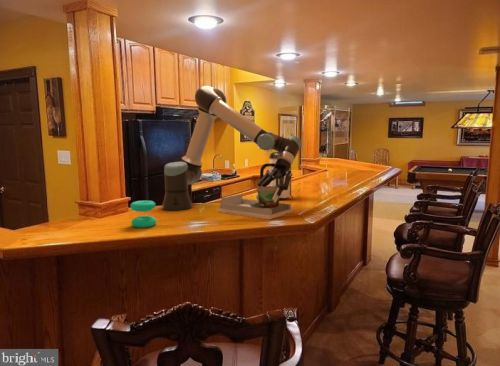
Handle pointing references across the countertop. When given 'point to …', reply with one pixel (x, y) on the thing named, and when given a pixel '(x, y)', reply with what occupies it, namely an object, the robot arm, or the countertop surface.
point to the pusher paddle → (255, 205)
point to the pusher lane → (251, 208)
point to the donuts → (143, 220)
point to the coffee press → (285, 193)
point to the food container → (267, 196)
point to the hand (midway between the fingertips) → (265, 199)
